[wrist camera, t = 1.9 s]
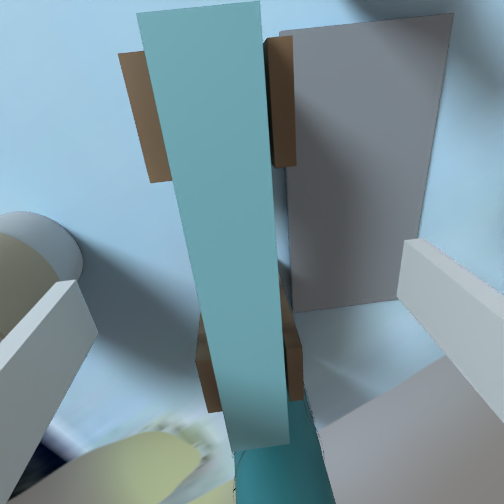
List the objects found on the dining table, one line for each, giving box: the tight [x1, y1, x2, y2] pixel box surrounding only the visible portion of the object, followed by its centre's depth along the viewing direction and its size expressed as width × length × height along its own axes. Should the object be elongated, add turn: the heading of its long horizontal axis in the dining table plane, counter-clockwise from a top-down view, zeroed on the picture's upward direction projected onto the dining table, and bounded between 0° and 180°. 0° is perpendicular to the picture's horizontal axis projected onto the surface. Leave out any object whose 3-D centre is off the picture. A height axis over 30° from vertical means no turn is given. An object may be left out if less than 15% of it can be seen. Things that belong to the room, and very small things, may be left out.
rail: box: [136, 1, 290, 452], centre depth 13 cm, size 3×18×4 cm, turn 6°
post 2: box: [195, 272, 304, 413], centre depth 21 cm, size 5×4×10 cm
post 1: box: [118, 35, 297, 183], centre depth 15 cm, size 5×4×10 cm
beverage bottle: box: [232, 384, 336, 504], centre depth 21 cm, size 6×7×20 cm
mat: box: [279, 13, 454, 313], centre depth 22 cm, size 10×20×1 cm, turn 6°
